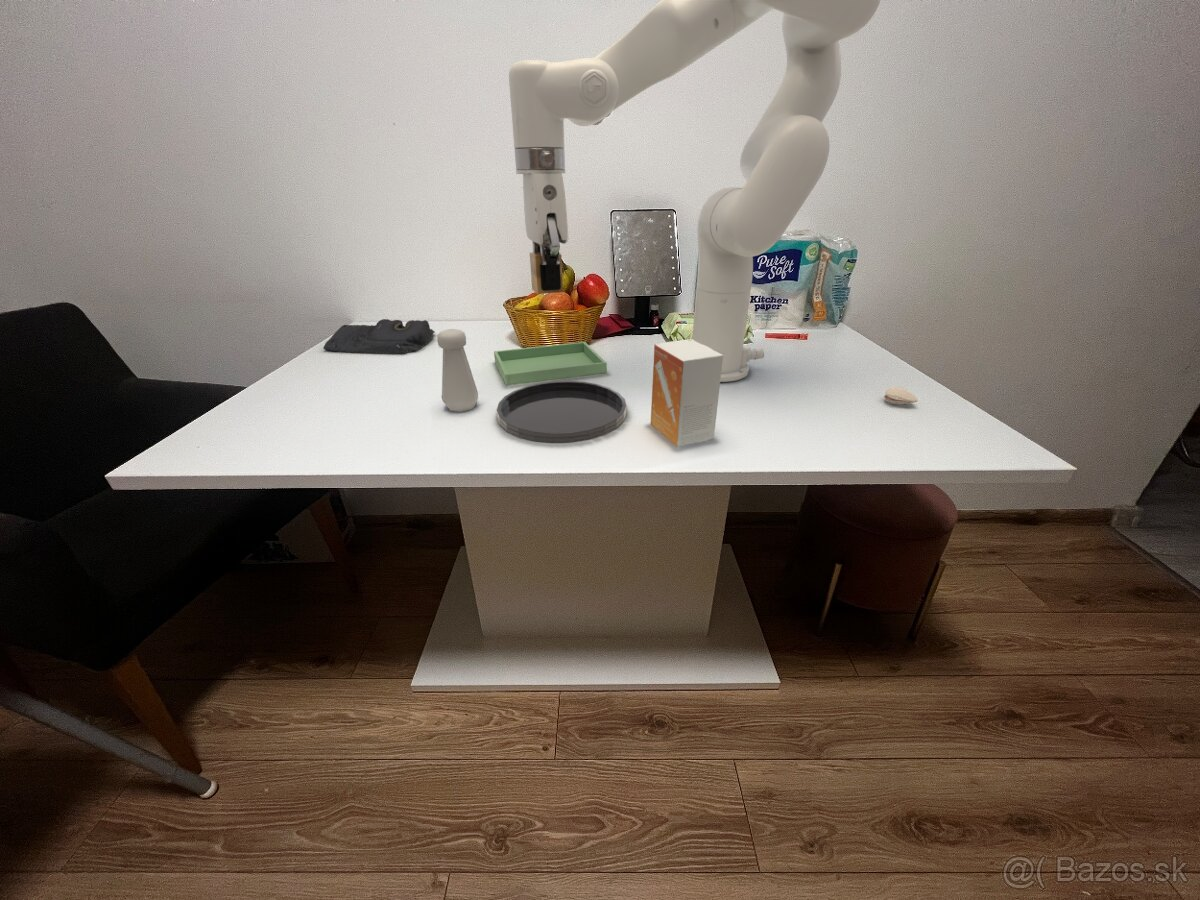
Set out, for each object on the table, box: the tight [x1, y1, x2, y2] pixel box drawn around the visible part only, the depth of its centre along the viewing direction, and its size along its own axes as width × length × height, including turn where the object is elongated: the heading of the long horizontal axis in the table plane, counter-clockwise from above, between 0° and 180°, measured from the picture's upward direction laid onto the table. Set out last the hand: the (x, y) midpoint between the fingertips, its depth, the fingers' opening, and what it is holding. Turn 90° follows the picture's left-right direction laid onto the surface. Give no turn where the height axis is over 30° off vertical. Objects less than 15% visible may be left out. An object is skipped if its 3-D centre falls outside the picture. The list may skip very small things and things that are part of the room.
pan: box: [496, 380, 627, 444], centre depth 81 cm, size 20×20×2 cm
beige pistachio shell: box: [883, 386, 919, 405], centre depth 84 cm, size 4×5×2 cm
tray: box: [493, 341, 608, 386], centre depth 100 cm, size 19×14×2 cm
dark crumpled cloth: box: [322, 318, 436, 355], centre depth 115 cm, size 15×22×5 cm
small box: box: [650, 338, 723, 447], centre depth 72 cm, size 8×6×13 cm
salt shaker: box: [436, 328, 479, 413], centre depth 81 cm, size 6×6×13 cm
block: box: [529, 251, 564, 295], centre depth 85 cm, size 4×4×6 cm
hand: (547, 285), depth 86 cm, fingers closed on block, 4 cm apart
